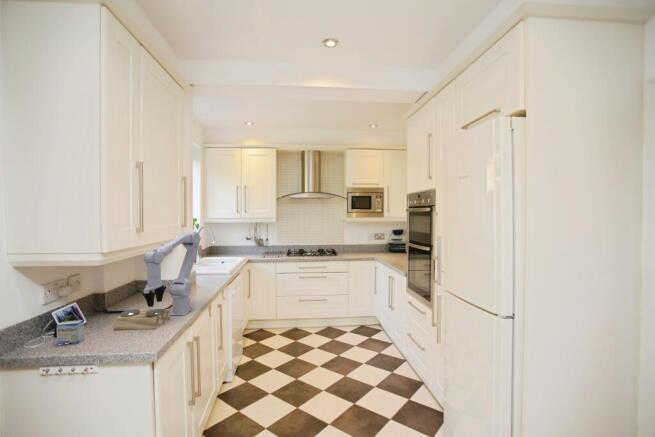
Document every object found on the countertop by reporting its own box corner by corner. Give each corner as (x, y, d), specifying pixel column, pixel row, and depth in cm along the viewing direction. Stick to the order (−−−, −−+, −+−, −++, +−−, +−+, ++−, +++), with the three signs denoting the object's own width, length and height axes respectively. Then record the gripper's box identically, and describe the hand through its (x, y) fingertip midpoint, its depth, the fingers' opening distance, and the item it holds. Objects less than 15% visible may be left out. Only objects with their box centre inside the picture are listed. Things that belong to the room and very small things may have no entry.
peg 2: (151, 318, 151) (151, 309, 151) (168, 318, 151) (167, 308, 151) (142, 324, 143) (142, 314, 143) (159, 324, 143) (159, 314, 143)
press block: (131, 319, 153) (131, 309, 153) (169, 318, 154) (169, 309, 153) (114, 329, 140) (113, 319, 140) (155, 329, 141) (155, 318, 140)
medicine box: (56, 346, 124) (55, 325, 124) (62, 341, 129) (62, 321, 128) (79, 343, 126) (78, 323, 126) (84, 339, 131) (84, 319, 130)
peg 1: (127, 319, 151) (127, 309, 151) (143, 318, 151) (143, 309, 151) (116, 325, 143) (116, 315, 143) (133, 324, 143) (133, 314, 143)
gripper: (154, 273, 153) (155, 299, 154) (136, 279, 139) (137, 309, 139) (168, 272, 154) (169, 299, 154) (152, 279, 139) (153, 308, 140)
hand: (155, 304), depth 147 cm, fingers open, 7 cm apart
